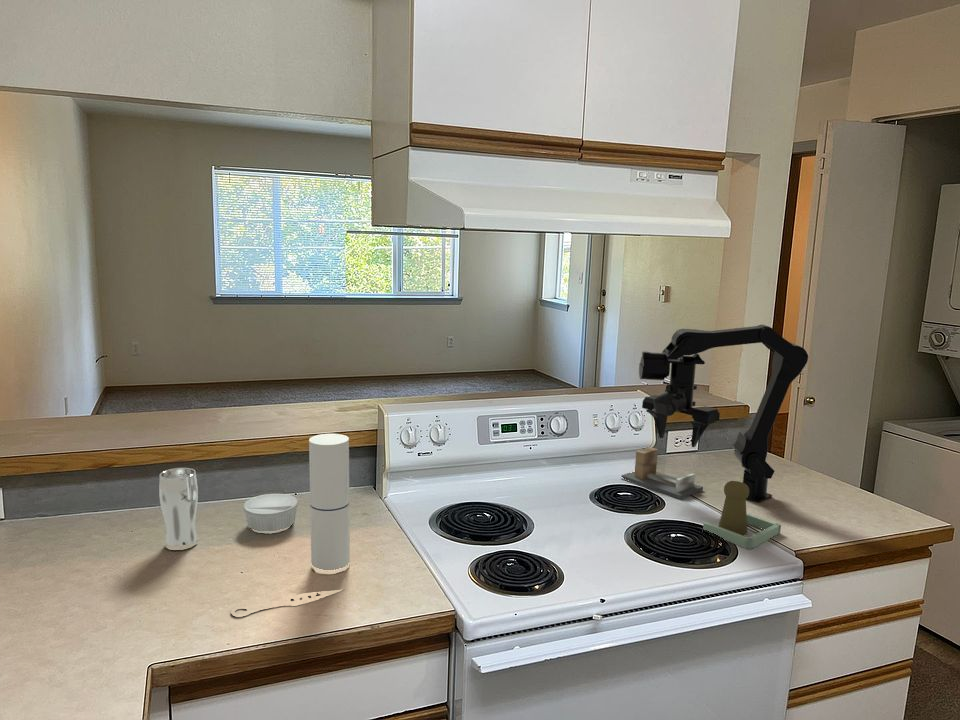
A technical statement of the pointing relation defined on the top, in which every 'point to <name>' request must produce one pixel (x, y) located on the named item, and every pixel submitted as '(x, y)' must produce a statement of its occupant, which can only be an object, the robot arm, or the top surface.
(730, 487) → the olive pawn
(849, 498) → the top surface
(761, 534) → the corral
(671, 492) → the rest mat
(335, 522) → the cylindrical container
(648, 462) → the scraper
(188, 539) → the beer glass
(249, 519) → the ramekin
